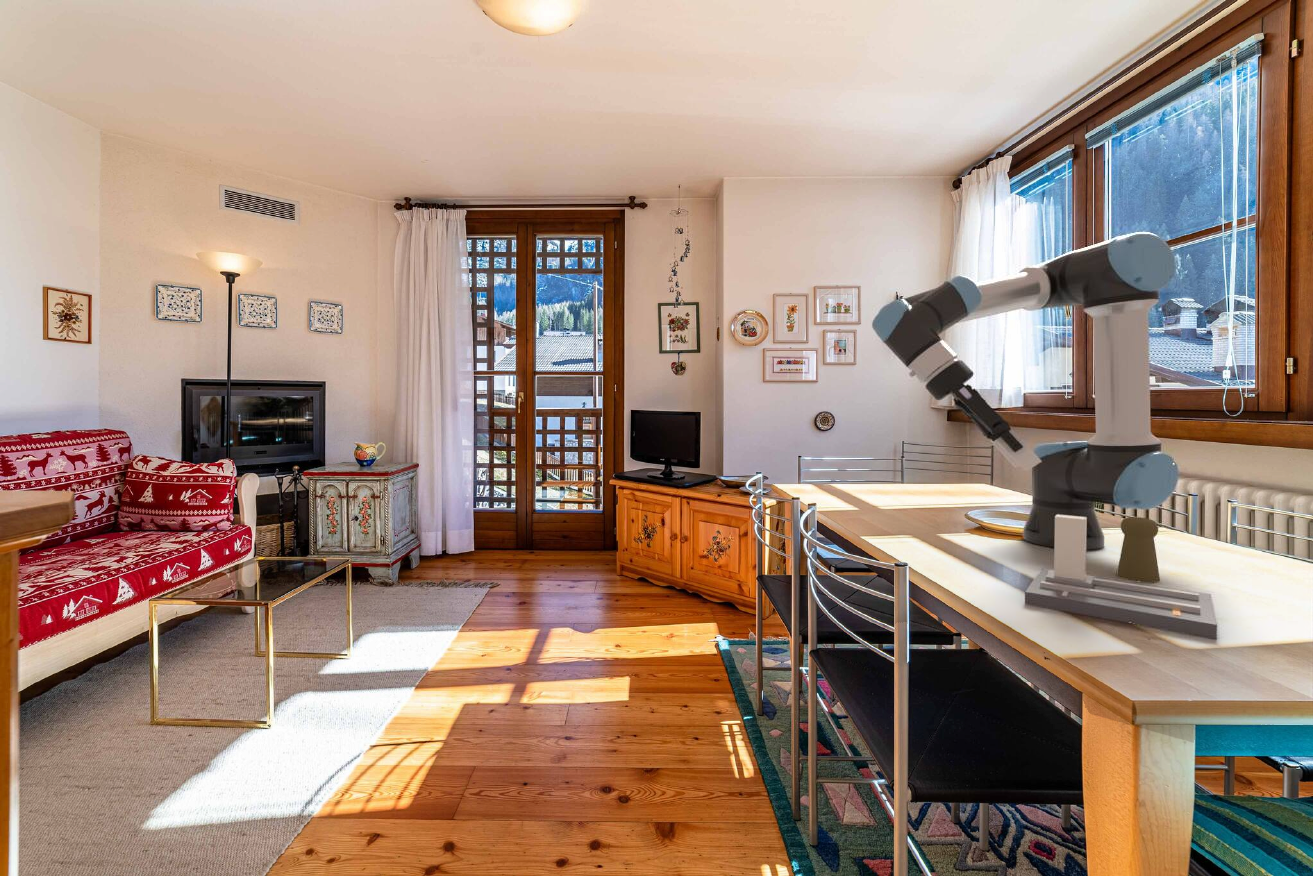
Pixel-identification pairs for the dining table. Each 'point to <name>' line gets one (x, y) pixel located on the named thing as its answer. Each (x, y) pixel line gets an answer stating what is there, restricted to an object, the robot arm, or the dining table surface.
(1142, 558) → the cork
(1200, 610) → the board
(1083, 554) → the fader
